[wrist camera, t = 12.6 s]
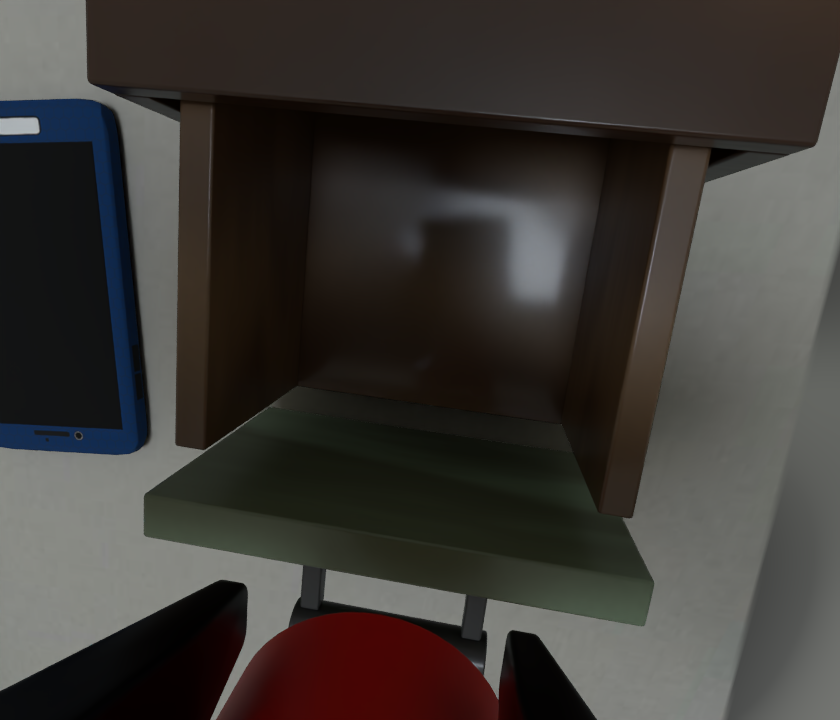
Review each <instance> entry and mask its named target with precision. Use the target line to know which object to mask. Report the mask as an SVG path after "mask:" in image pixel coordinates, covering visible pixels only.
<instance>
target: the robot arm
mask: <svg viewBox="0 0 840 720" xmlns="http://www.w3.org/2000/svg"><path fill="white" fill-rule="evenodd" d="M247 601H248V591H247V587H246V586H245V585H244V584H243V583H238V582H233V581H227V580H219V581H217V582H215V583H213V584H211V585H209V586H207V587H205V588H203V589H201V590H199V591H197V592H195V593H193V594H191V595H189V596H187V597H185V598H183V599H181V600H179V601H177V602H175V603H173V604H171V605H169V606H167V607H165V608H163V609H161V610H159V611H157V612H155V613H153V614H151V615H150V616H148V617H146V618H144V619H142V620H140V621H138V622H136V623H134V624H132V625H130V626H128V627H126V628H124V629H122V630H120V631H118V632H116V633H114V634H112V635H110V636H108V637H106V638H104V639H102V640H100V641H98V642H96V643H94V644H92V645H90V646H88V647H86V648H84V649H83V650H81V651H79V652H77V653H75V654H73V655H71V656H69V657H67V658H65V659H63V660H61V661H59V662H57V663H55V664H53V665H51V666H49V667H47V668H45V669H43V670H41V671H39V672H37V673H35V674H33V675H31V676H29V677H27V678H25V679H23V680H21V681H19V682H17V683H16V684H14V685H12V686H10V687H8V688H6V689H4V690H2V691H0V720H210V719H211V717H212V714H213V712H214V710H215V708H216V705H217V703H218V701H219V699H220V696H221V694H222V692H223V690H224V687H225V685H226V683H227V681H228V678H229V676H230V674H231V672H232V669H233V667H234V665H235V663H236V660H237V658H238V656H239V654H240V651H241V649H242V647H243V644H244V640H245V636H246V627H247ZM498 720H597V719H596V718H595V716H594V715H593V713H592V712H591V710H590V709H589V708H588V706H587V705H586V703H585V702H584V701H583V699H582V698H581V696H580V695H579V693H578V692H577V691H576V689H575V688H574V686H573V685H572V684H571V682H570V681H569V679H568V678H567V676H566V675H565V674H564V672H563V671H562V669H561V668H560V667H559V665H558V664H557V662H556V661H555V659H554V658H553V657H552V655H551V654H550V652H549V651H548V650H547V648H546V647H545V645H544V644H543V642H542V641H541V640H540V638H539V637H538V636H537V635H535V634H531V633H525V632H520V631H514V630H512V631H510V632H509V633H508V635H507V639H506V645H505V651H504V658H503V664H502V670H501V677H500V685H499V709H498Z"/></svg>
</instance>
